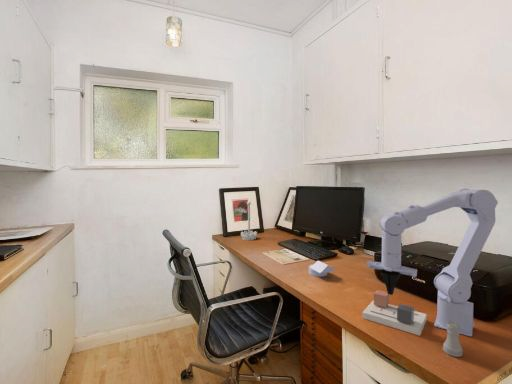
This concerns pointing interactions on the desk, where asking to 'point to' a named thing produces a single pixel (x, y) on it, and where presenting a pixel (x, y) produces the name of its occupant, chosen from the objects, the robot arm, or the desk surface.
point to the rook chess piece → (452, 340)
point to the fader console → (394, 318)
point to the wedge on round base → (319, 269)
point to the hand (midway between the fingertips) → (390, 293)
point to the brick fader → (381, 298)
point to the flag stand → (250, 234)
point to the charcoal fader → (405, 313)
